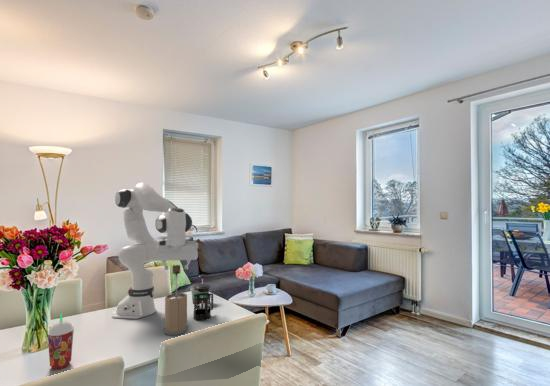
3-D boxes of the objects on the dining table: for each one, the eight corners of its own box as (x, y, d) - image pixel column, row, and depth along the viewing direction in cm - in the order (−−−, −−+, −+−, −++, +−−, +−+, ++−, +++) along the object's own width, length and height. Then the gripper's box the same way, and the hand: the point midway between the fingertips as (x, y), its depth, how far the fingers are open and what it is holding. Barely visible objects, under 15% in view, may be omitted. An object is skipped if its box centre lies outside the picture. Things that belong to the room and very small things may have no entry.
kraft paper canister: (161, 336, 144) (161, 300, 144) (168, 324, 157) (168, 291, 157) (185, 335, 145) (185, 299, 145) (190, 323, 158) (190, 290, 158)
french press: (197, 322, 159) (197, 278, 160) (188, 317, 166) (189, 275, 167) (216, 316, 167) (217, 274, 168) (208, 312, 174) (208, 271, 175)
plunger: (166, 301, 146) (166, 267, 146) (170, 296, 153) (170, 264, 154) (182, 301, 147) (182, 267, 147) (185, 296, 154) (185, 263, 154)
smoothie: (75, 358, 124) (75, 308, 125) (71, 368, 117) (71, 316, 117) (50, 362, 121) (51, 311, 121) (44, 373, 113) (45, 319, 114)
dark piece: (187, 305, 185) (187, 288, 186) (190, 302, 192) (190, 285, 192) (207, 305, 185) (207, 289, 185) (210, 302, 191) (210, 286, 191)
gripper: (199, 239, 155) (198, 267, 155) (157, 240, 153) (156, 268, 152) (197, 241, 149) (197, 270, 148) (153, 242, 146) (153, 271, 146)
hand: (176, 269), depth 150 cm, fingers open, 8 cm apart
